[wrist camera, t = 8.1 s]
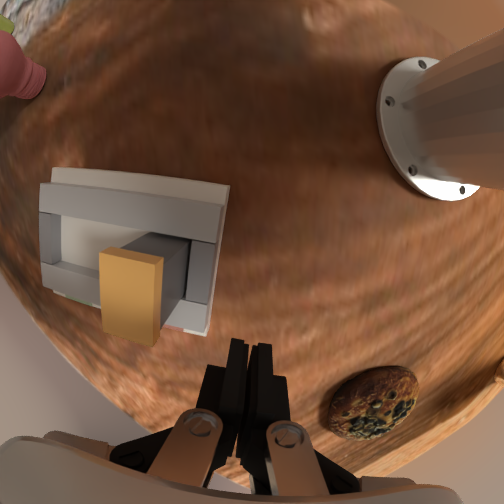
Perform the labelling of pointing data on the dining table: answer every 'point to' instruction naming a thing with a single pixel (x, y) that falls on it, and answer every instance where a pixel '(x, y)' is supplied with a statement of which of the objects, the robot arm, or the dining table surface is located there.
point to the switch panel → (129, 231)
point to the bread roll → (373, 403)
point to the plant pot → (6, 24)
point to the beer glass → (500, 374)
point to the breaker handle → (142, 285)
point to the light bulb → (18, 70)
